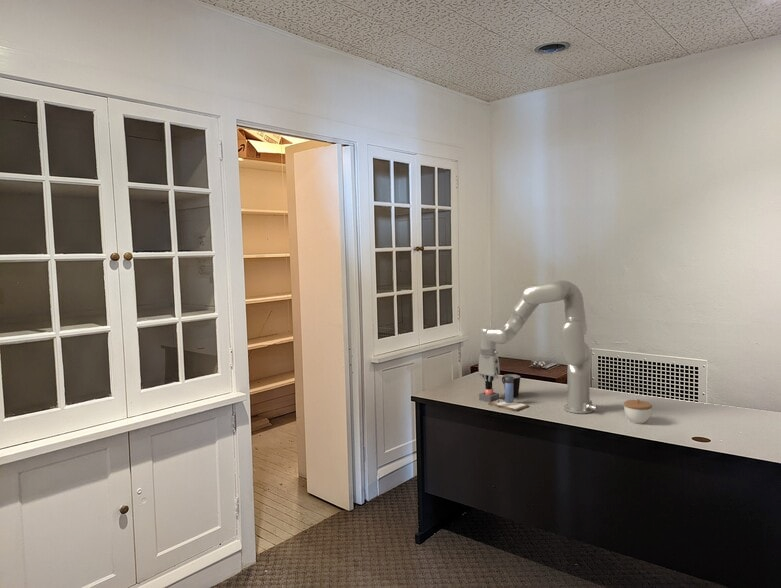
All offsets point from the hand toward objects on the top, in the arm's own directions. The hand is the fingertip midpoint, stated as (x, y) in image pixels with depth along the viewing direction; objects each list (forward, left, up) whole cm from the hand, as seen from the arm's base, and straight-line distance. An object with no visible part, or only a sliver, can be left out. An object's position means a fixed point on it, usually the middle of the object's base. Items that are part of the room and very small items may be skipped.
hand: (488, 388), depth 266 cm
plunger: (0, 0, -5) cm, 5 cm away
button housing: (0, 0, -6) cm, 6 cm away
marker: (-12, -1, -4) cm, 13 cm away
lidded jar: (-66, -16, -6) cm, 68 cm away
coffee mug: (-3, -14, -6) cm, 15 cm away
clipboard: (-13, +2, -6) cm, 14 cm away
